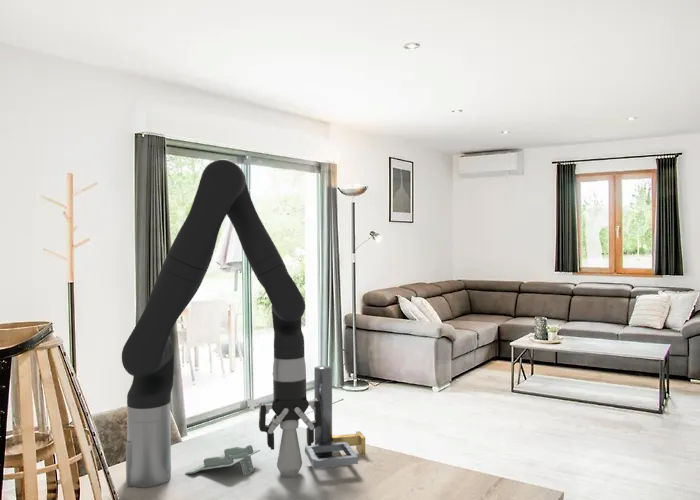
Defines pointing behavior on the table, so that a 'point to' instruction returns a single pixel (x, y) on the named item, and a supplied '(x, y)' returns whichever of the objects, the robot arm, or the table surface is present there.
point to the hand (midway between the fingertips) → (290, 446)
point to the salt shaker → (289, 450)
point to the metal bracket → (229, 460)
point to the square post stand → (325, 443)
